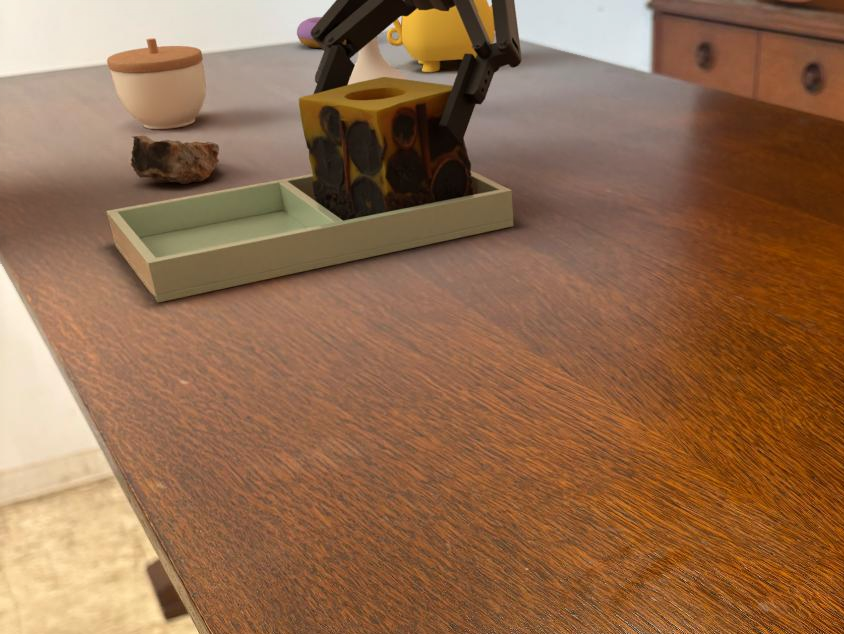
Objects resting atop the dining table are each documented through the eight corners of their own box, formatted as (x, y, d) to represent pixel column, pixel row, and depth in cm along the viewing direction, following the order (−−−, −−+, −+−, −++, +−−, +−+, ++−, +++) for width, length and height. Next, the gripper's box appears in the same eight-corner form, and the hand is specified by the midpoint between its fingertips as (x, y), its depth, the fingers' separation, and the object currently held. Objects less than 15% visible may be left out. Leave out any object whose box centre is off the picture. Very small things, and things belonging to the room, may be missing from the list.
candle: (477, 206, 96) (468, 86, 90) (392, 237, 89) (378, 110, 84) (398, 188, 101) (385, 74, 96) (313, 216, 95) (295, 95, 90)
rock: (201, 191, 106) (244, 145, 113) (168, 134, 103) (215, 90, 109) (133, 209, 110) (179, 163, 116) (99, 154, 106) (149, 110, 113)
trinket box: (191, 108, 137) (175, 27, 132) (230, 122, 130) (213, 37, 125) (109, 124, 132) (88, 40, 127) (144, 139, 125) (124, 51, 120)
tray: (115, 246, 93) (106, 210, 91) (437, 184, 105) (434, 151, 103) (157, 302, 81) (147, 262, 80) (513, 226, 93) (511, 190, 92)
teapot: (387, 60, 160) (377, -38, 153) (521, 50, 163) (516, -46, 155) (393, 78, 149) (382, -26, 142) (536, 67, 151) (532, -36, 144)
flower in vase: (385, 100, 137) (358, -132, 123) (443, 112, 130) (422, -132, 116) (298, 121, 130) (260, -124, 116) (356, 135, 123) (322, -124, 109)
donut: (295, 48, 169) (290, 14, 167) (302, 52, 177) (298, 19, 176) (359, 45, 169) (355, 10, 167) (364, 48, 178) (360, 15, 176)
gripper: (606, -60, 92) (527, 166, 90) (368, -62, 102) (292, 140, 100) (576, -129, 85) (490, 113, 83) (325, -124, 96) (242, 91, 93)
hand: (382, 128), depth 91 cm, fingers open, 13 cm apart
